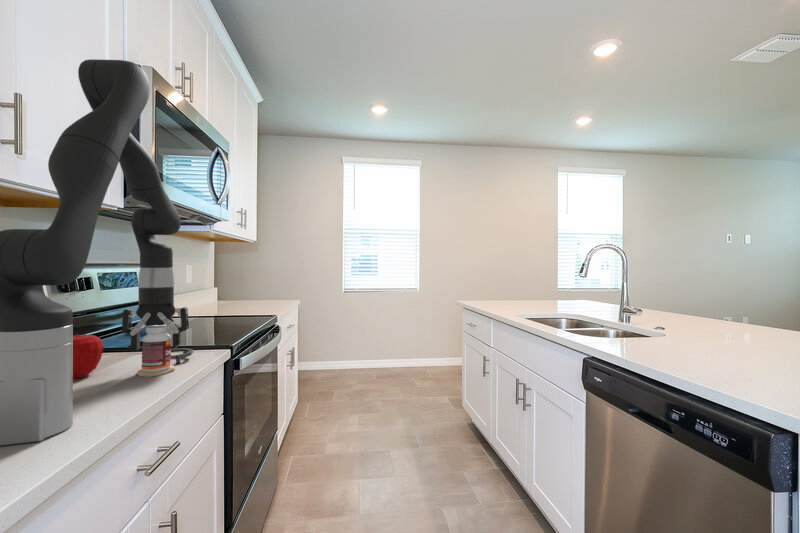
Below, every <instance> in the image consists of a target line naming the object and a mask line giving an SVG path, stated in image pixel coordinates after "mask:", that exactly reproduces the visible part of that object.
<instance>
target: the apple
mask: <svg viewBox="0 0 800 533" xmlns="http://www.w3.org/2000/svg"><path fill="white" fill-rule="evenodd" d="M103 352H104V344H103V341H102V339H101V338H100V337H98V336H96V335H94V334H79V333H78V332H76V334H75V335H74V334H73V380H77V379H81V378H84V377H87V376H88V375H89V374H91V373H92V372H93V371H94V370H96V369H97V367H98V365H99V363H100V361H101V359H102V356H103Z"/></svg>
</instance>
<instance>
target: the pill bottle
mask: <svg viewBox="0 0 800 533" xmlns="http://www.w3.org/2000/svg"><path fill="white" fill-rule="evenodd" d="M168 331H169V327H167V325H166V324H164V325H152V326H148V325H147V326H145V333H146V335H144V336H143V337H142V341H141V345H142V346H141V369H142V370H143V371H144V372H158V371H163V370H167V369H169V368H170V366H171V363H172V359H171V353H172V352H171V349H172V336H171V334H169V333H168Z"/></svg>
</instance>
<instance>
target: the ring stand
mask: <svg viewBox="0 0 800 533" xmlns="http://www.w3.org/2000/svg"><path fill="white" fill-rule="evenodd" d="M180 352H181V353H180ZM194 352H195V351H194V348H193V349H192V348H187V347H181V348H178V347H177V348H171V353H179V354H172V355H171V360H175V364H176V365H180V364H181V359H182V358H188V357H190V356H192V355H193V353H194Z"/></svg>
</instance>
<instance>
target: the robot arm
mask: <svg viewBox="0 0 800 533" xmlns="http://www.w3.org/2000/svg"><path fill="white" fill-rule="evenodd" d="M77 69H78V70H77V74H78V81H79V83H80V84H79V85H80V87H81V90H82V91H83V95H84V96H85V99H86V100H87V102H88V104H89V107H90V108H91V111H90V112H88V113H87V114H85V115H84V116H82V117H80V118H78V119H77V120H76V121H74V122H72V123H71V125H69V126H67V127H66V128H65V130H63V131H62V133H60V136H59V138H58V139H57V141H56V142H55V145H54V147H53V149H52V151H51V153H50V155H49V159H48V163H47V167H48V168H47V169H48V173H49V176H50V178H51V180H52V183H53V185H54V188H55V190H56V192H57V195H58V198H59V205H58V209H57V212H56V214H55V216H54V219H53V220H52V223H51V224H50V225H49V227H48V228H46V229H39V228H38V229H36V228H35V229H33V228H31V229H30V228H29V229H28V228H10V229H8V228H7V229H3V230H1V231H0V446H8V445H15V444H26V443H34V442H41V441H44V440H45V439H47V438H49V437H51V436H54V435H58V434H59V433H61V432H64V431H66V430H68V429H69V428H70V427H71V426H72V425H73V424H74V423H73V421H74V420H73V419H74V418H73V417H74V414H73V413H74V412H73V411H74V409H73V408H74V405H73V404H74V400H73V398H74V397H73V395H74V389H73V387H74V384H73V383H74V381H73V380H74V379H73V336H74V328H73V327H74V325H73V323H74V321H73V320H74V315H73V310H72V309H71V307H69V306H67V305H65V304H62V303H60V302H56V301H54V300H53V299H50V298H49V297H48V296H47V295H46V294H45V292H44V289H43V286H64V285H69V284H71V283H72V282H75V281H76V280H77V279H78V278H79V276H81V275H82V272H83V271H84V269H85V267H86V264H87V262H88V257H89V254H90V251H91V247H92V242H93V238H94V234H95V230H96V225H97V221H98V217H99V214H100V211H101V208H102V205H103V203H104V199H105V197H106V194H107V192H108V189H109V186H110V184H111V182H112V180H113V178H114V176H115V173H116V170H117V168H118V165H119V166H120V168H121V170H122V171H121V172H122V173H123V176H124V180H125V183H126V185H127V188H128V190H129V191H128V192H129V193H130V196H131V197H132V198H133V199H134V200H136V201H139V202H144V203H146V204H148V205H149V206H150V207H149V206H148V207H145V206H141V207H139V208H137V209H135V210H134V212H132V216H131V218H130V219H131V221H130V223H131V224H130V225H131V227H132V228H131V229H132V231H133V234H134V237H135V239H136V243H137V246H138V251H139V273H138V306H137V309H133V308H126V309H123V311H122V321H121V322H122V324H121V333H122V334H127V335H129V336H130V347H131V349H133V351H139V350H140V349H141V334H140V332H141V331H142V330H143V329H144V328H146V327H148V326H154V325H167V327H168V329H170V330H171V331H172V333H173V334H172V349H178V346H180V345H181V343H182V342H181V340H182V339H181V334H182V332H185V331H187V330H188V329H190V322H189V320H190V319H189V309H188V307H186V306H184V307H175V306H174V304H175V303H174V302H175V300H174V299H175V295H174V294H175V287H174V286H175V280H174V278H175V276H174V268H173V265H174V262H173V260H174V259H173V256H174V255H173V248H172V247H171V246H170V245H166V244H163V243H159V242H158V241H157V239H156V237H155V236H171V235H176V234H177V233H178V232H179V230H180V228H181V224H182V222H181V216H180V213H179V210H177V208H176V207H175V205H174V204H173V202H172V200H171V199H170V197H169V196H168V194H167V192H166V191H165V189H164V186H163V183H162V179H161V177H160V173H159V168H158V166H157V163H156V162H155V160H154V158H153V157H152V155H151V154H150V153H149V152H148V150H146V149H145V147H144V146H143V145H142V144H141V143H140V142H139V141H138V140H137V139H136V137H135V136H134V135H133V134H132V133H131V132H132V130H133V128H134V127H135V124H136V123H137V121H138V119H139V118H140V116H141V114H142V113H143V111H144V109H145V107H146V105H147V104H148V101H149V97H150V83H149V79H148V75H147V74H146V72H145V71H144V69H143V68H142V67H141V66H140V65H138V64H137V63H135V62H132V61H129V60H124V59H123V60H122V59H85V60H83V61H82V62H81V63H80V64H79V67H78V68H77ZM175 314H177V316H178V317H180V325H181V326H180V325H178V324H177V322H176V320H175V319H174V318H173V316H174V315H175ZM135 315H136V316H138V317H139V319H140V320H139V321H138V322H137V324H135V325H134V326H135V327H134V328H133V327H132V321H133V318H134V317H135Z"/></svg>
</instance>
